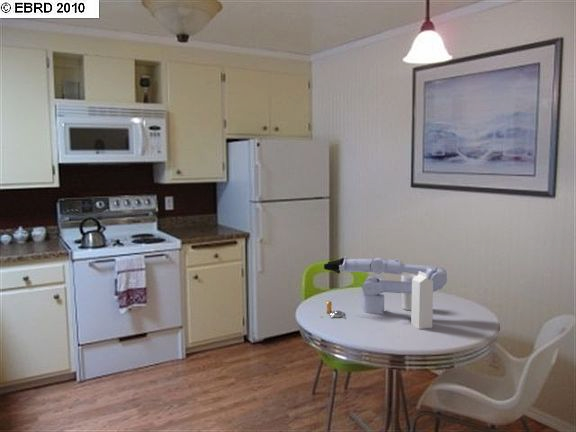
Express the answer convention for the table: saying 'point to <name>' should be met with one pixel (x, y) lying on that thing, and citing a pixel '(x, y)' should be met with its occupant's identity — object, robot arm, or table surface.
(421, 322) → the milk
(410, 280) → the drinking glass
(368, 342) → the table surface
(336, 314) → the dial
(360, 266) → the robot arm
